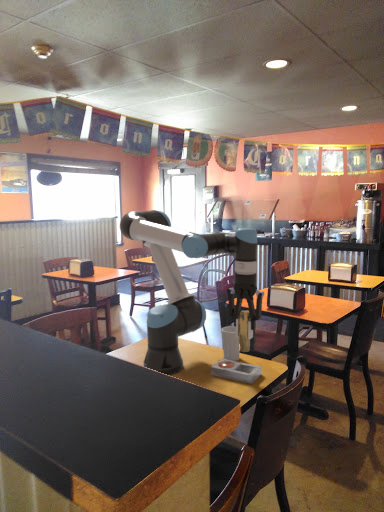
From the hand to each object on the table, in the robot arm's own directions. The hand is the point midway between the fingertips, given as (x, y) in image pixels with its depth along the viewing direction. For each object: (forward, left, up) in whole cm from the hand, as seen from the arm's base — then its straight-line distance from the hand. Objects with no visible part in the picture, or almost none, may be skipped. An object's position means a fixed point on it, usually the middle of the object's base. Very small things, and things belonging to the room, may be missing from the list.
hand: (244, 336), depth 140 cm
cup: (-11, +13, -15) cm, 23 cm away
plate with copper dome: (-3, 0, -15) cm, 15 cm away
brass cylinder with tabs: (0, 0, -5) cm, 5 cm away
